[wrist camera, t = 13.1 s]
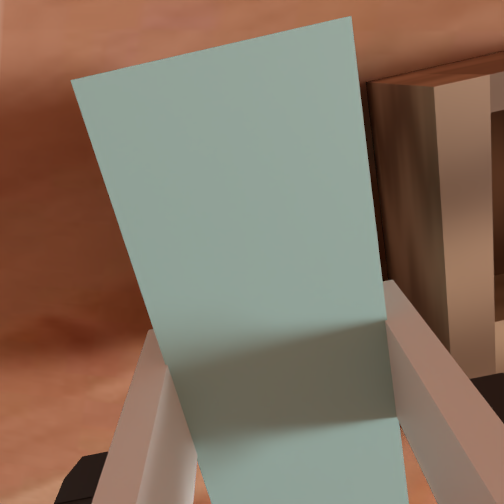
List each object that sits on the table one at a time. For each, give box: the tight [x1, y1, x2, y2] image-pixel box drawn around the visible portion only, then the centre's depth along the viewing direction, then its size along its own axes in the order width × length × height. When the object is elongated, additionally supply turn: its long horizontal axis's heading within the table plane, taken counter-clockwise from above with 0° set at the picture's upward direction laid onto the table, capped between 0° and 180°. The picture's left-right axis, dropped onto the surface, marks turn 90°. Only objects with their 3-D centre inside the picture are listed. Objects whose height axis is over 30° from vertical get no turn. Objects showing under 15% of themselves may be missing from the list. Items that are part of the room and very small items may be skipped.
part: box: [71, 16, 409, 504], centre depth 13 cm, size 12×5×5 cm, turn 12°
